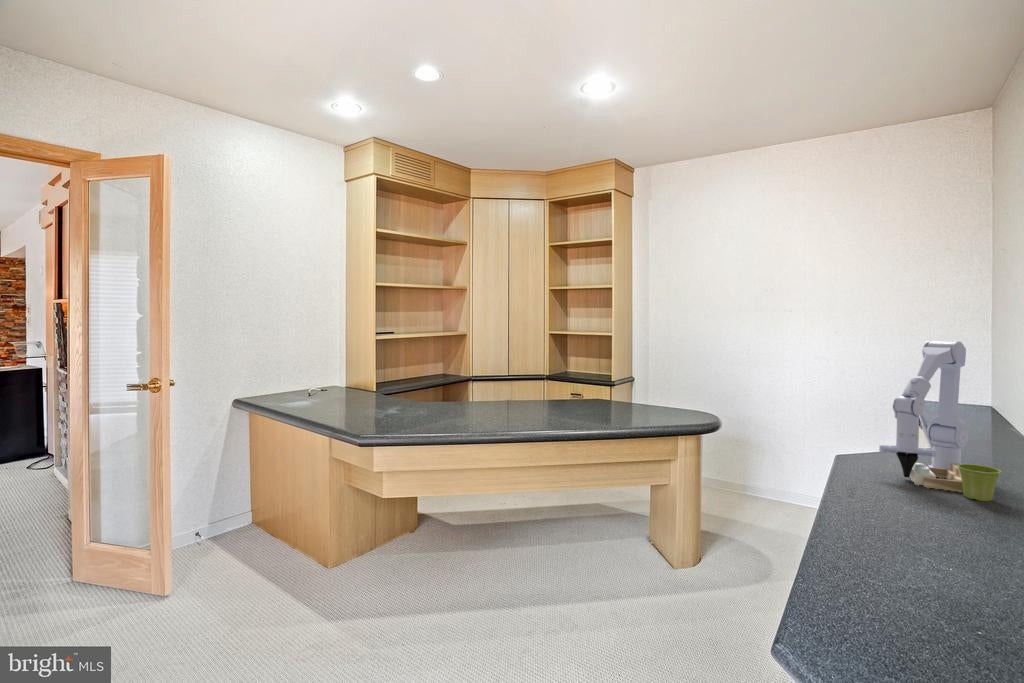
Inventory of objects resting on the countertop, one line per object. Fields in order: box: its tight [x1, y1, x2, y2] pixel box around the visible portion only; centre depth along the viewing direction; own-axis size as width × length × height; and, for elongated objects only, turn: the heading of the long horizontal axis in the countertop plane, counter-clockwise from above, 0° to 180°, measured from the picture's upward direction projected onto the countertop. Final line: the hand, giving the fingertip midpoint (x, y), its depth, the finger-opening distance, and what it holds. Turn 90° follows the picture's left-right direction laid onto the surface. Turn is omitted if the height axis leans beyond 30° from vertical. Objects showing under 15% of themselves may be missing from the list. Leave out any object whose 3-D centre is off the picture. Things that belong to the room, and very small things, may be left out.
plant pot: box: [957, 463, 1002, 502], centre depth 154 cm, size 9×9×9 cm
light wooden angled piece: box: [922, 463, 963, 493], centre depth 168 cm, size 16×13×5 cm
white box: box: [909, 462, 936, 486], centre depth 170 cm, size 12×5×5 cm, turn 153°
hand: (906, 476), depth 172 cm, fingers closed
